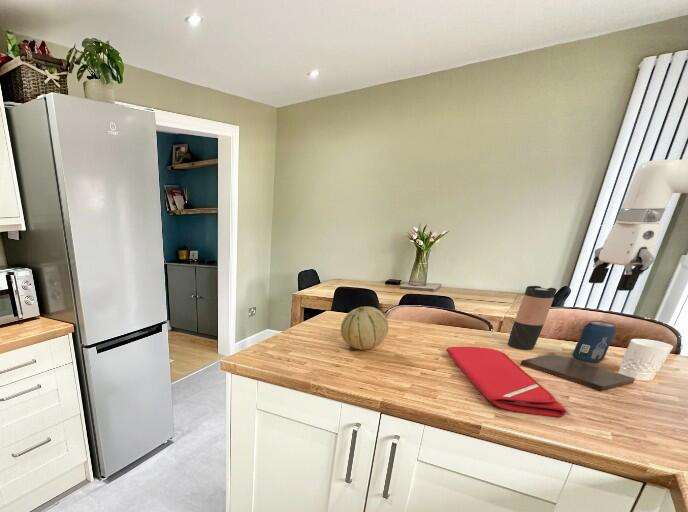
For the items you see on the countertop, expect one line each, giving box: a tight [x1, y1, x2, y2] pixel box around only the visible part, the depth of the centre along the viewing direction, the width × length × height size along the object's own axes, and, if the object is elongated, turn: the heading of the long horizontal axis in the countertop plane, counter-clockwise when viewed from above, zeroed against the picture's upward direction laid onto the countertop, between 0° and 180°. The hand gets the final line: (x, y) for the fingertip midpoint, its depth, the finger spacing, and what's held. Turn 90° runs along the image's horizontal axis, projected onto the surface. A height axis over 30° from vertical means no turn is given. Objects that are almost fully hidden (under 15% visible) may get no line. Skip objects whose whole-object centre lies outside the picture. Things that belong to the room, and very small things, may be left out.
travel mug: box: [507, 285, 558, 351], centre depth 132 cm, size 8×8×20 cm
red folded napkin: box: [445, 346, 567, 418], centre depth 112 cm, size 16×41×4 cm, turn 161°
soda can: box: [572, 320, 617, 365], centre depth 122 cm, size 7×7×12 cm
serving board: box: [520, 353, 636, 392], centre depth 115 cm, size 20×14×2 cm
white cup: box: [617, 338, 674, 382], centre depth 111 cm, size 8×8×10 cm
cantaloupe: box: [340, 306, 390, 351], centre depth 135 cm, size 15×15×15 cm
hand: (609, 286), depth 105 cm, fingers open, 9 cm apart
